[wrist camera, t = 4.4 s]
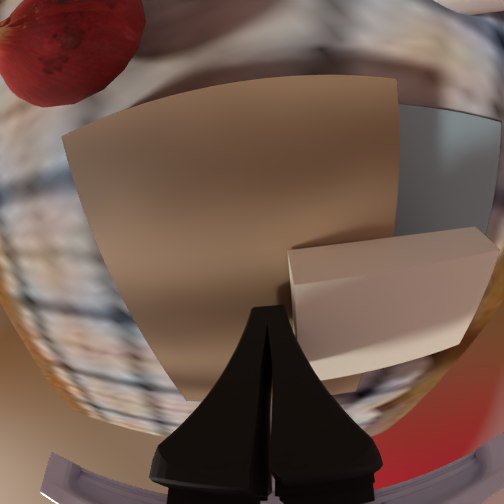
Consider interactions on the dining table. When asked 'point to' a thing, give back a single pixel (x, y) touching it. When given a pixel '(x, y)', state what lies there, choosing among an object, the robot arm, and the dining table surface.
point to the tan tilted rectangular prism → (387, 298)
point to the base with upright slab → (473, 6)
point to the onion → (67, 47)
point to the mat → (445, 170)
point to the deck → (233, 203)
